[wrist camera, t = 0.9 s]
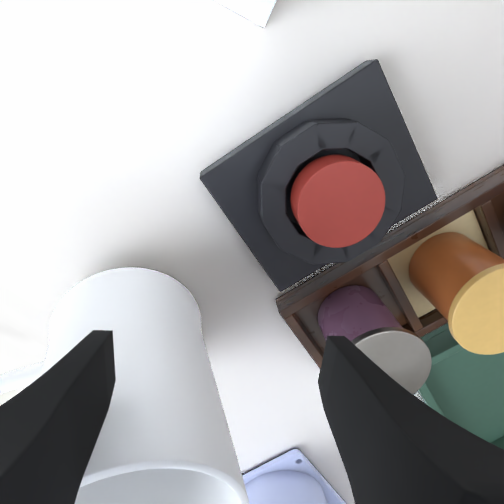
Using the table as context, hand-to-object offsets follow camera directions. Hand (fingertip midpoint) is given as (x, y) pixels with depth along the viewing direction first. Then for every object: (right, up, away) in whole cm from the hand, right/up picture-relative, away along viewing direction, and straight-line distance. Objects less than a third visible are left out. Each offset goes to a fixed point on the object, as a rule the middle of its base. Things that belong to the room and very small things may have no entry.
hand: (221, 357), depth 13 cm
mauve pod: (+7, 0, +11) cm, 13 cm away
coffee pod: (+13, +3, +10) cm, 16 cm away
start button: (+5, +6, +6) cm, 10 cm away
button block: (+5, +7, +8) cm, 12 cm away
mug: (-8, -1, +10) cm, 12 cm away
